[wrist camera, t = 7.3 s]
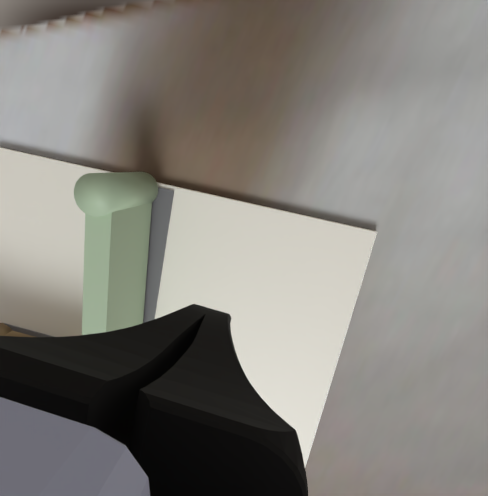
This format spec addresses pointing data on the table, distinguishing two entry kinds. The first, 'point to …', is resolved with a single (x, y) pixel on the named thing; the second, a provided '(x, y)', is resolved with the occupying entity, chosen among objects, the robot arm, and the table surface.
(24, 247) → the card
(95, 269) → the hinged fence section
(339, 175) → the table surface
